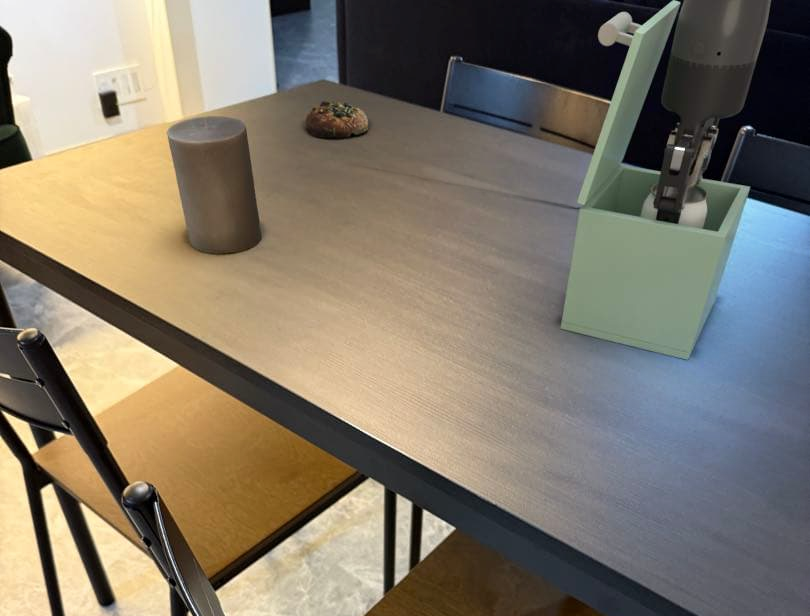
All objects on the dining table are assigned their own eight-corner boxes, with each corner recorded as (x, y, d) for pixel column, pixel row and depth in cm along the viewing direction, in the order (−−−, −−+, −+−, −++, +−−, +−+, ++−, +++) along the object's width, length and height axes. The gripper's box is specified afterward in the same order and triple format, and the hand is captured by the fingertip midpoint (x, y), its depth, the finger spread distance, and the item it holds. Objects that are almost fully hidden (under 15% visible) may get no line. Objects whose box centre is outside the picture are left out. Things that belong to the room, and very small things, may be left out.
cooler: (713, 303, 90) (750, 186, 80) (687, 360, 81) (725, 236, 72) (596, 277, 94) (618, 164, 85) (560, 328, 86) (579, 208, 76)
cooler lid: (680, 2, 73) (634, -13, 74) (643, 33, 64) (591, 16, 65) (622, 161, 84) (582, 146, 85) (584, 205, 76) (540, 188, 77)
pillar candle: (276, 237, 102) (261, 115, 92) (218, 262, 97) (195, 135, 87) (231, 217, 107) (212, 98, 96) (173, 239, 102) (146, 117, 91)
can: (618, 308, 85) (641, 198, 76) (628, 282, 89) (652, 175, 80) (677, 319, 83) (708, 208, 74) (685, 292, 87) (715, 184, 79)
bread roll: (298, 136, 130) (297, 103, 127) (315, 125, 138) (314, 93, 135) (362, 143, 129) (362, 109, 126) (374, 131, 137) (375, 99, 134)
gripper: (743, 75, 63) (690, 268, 75) (770, 37, 72) (718, 214, 84) (653, 64, 65) (615, 252, 77) (690, 28, 74) (651, 202, 86)
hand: (669, 232), depth 80 cm, fingers closed on can, 6 cm apart
